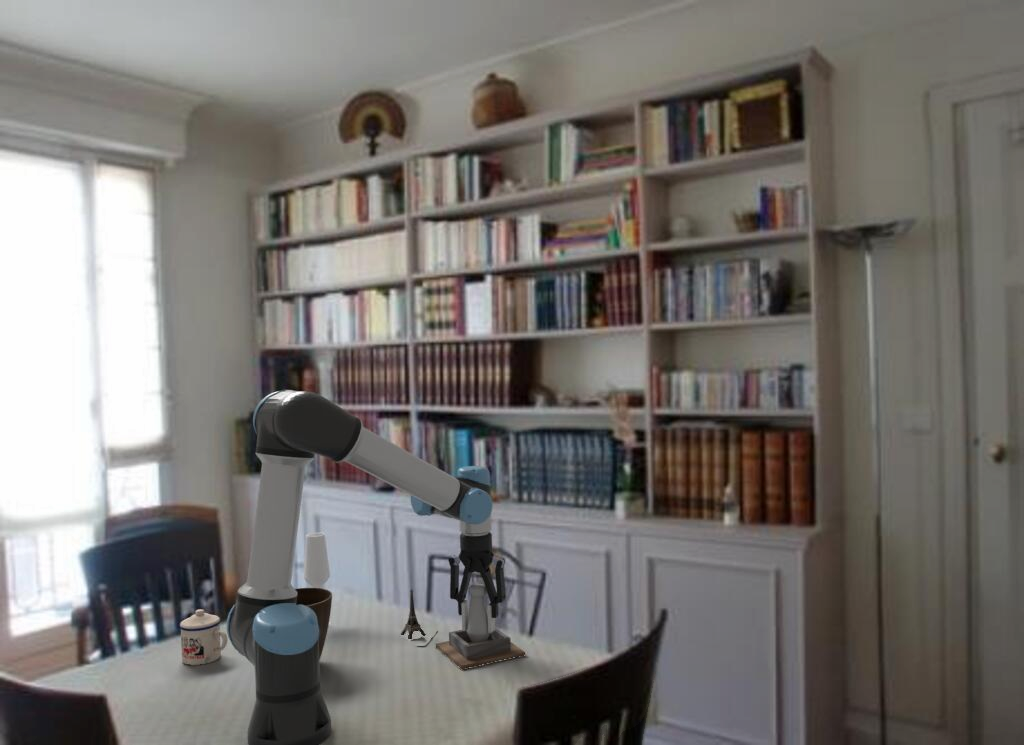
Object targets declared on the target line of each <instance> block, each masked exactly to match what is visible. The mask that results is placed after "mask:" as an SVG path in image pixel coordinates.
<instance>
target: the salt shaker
mask: <svg viewBox="0 0 1024 745" xmlns="http://www.w3.org/2000/svg"><path fill="white" fill-rule="evenodd" d="M468 594H469V596H470V602H469V615H468V622H467V628H466V630H467V633H468V636H469V638H470V640H471V641H472V642H477V643H479V642H484V641H487V639H488V637H489V635H490V633H488V609H487V603H486V597H485V596H486V595H488V594H487V590H486V587H485V584H483V583H474V584H470V585H469V587H468Z"/></svg>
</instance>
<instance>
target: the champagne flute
mask: <svg viewBox="0 0 1024 745" xmlns="http://www.w3.org/2000/svg"><path fill="white" fill-rule="evenodd" d="M325 534H326V533H324V532H312V533H307V534H306V535H305V549H304V550H305V551H304V565H303V566H304V567H303V569H304V570H303V579H304V581H305V582H306V583H307V585H309V586H310V588H322V587H324V586H325V584H326V583H327V582H328V580H329V578H330V576H331V574H330V566H329V558H328V556H329V555H328V550H327V549H328V548H327V542H326V541H327V540H326V536H325ZM331 623H332V622H331V621H330V620H329V625H330V624H331ZM329 625H328V627H330V626H331V625H332V624H331V625H330V626H329Z"/></svg>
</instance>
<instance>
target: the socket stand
mask: <svg viewBox="0 0 1024 745" xmlns="http://www.w3.org/2000/svg"><path fill="white" fill-rule="evenodd" d="M435 648H436V649H437V648H438V649H439V650H440V651H441V652H442V653H441V652H440V651H439V650H438V649H437V650H438V651H439V652H440V653H441V654H443V656H445V655H446V656H447V657H448V658H449V659H450V660H449V659H448V658H447V657H446V656H445V657H446V658H447V659H448V660H449V661H450V662H452V661H453V662H454V663H455V664H456V665H457V666H459V667H460V668H461V669H464V670H466V669H465V668H469V667H473V668H475V667H474V666H478V667H480V666H479V665H482V664H487V663H491V662H495V661H499V660H504V659H509V658H513V657H519V656H524V655H525V656H526V652H525V650H523V649H521V647H519V646H517V645H516V644H515V643H513V642H511V637H510V636H508V635H507V634H506V633H504V632H503V631H501V630H500V629H499V628H497V627H495V630H494V631H493V632H492V633H490V635H489V637H488V639H487V641H484V642H479V643H477V642H472V641H471V640H470V638H469V636H468V633H467V630H466V631H462V629H460V630H459V629H458V630H454V631H450V632H448V641H442V642H437V643H435ZM525 656H524V657H525ZM453 662H452V663H453ZM454 663H453V664H454ZM455 664H454V665H455ZM456 665H455V666H456ZM487 665H488V664H487ZM457 666H456V667H457ZM460 668H459V669H460ZM461 669H460V670H461ZM469 669H470V668H469Z"/></svg>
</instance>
